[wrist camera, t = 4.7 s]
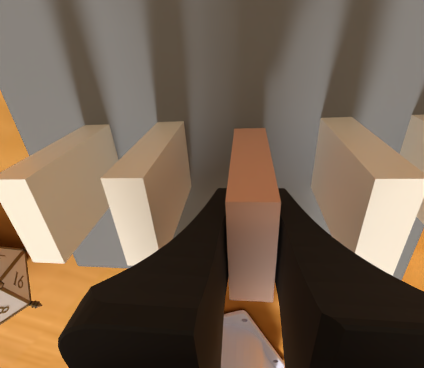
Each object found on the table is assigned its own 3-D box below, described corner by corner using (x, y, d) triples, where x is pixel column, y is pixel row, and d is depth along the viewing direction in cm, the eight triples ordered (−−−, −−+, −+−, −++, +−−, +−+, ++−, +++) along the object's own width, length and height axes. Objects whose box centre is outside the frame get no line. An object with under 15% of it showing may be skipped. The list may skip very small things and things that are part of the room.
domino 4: (351, 116, 14) (431, 178, 8) (337, 187, 16) (392, 277, 10) (320, 117, 14) (375, 178, 8) (310, 187, 16) (348, 275, 10)
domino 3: (265, 127, 14) (281, 202, 7) (262, 199, 16) (272, 302, 10) (234, 128, 14) (225, 202, 8) (235, 199, 16) (229, 299, 10)
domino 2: (183, 121, 15) (142, 178, 9) (191, 186, 17) (162, 267, 11) (157, 122, 15) (100, 178, 9) (168, 186, 18) (127, 265, 12)
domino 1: (109, 124, 16) (25, 179, 10) (125, 186, 18) (64, 263, 12) (84, 125, 16) (-13, 179, 10) (103, 186, 18) (33, 262, 12)
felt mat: (589, -174, 9) (596, -178, 9) (400, 278, 20) (401, 280, 19) (-69, -75, 12) (-74, -77, 12) (79, 264, 23) (78, 266, 23)
